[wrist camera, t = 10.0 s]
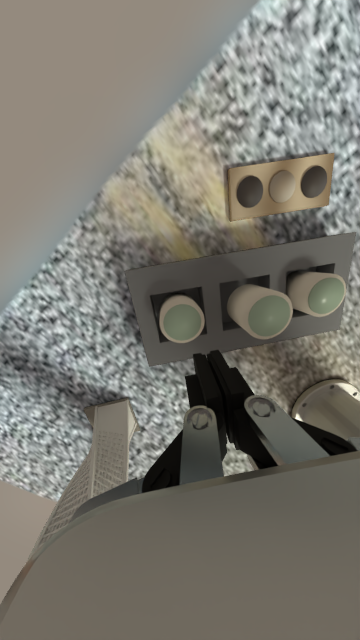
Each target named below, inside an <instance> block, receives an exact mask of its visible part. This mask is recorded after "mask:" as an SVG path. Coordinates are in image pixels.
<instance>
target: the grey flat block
mask: <svg viewBox="0 0 360 640" xmlns="http://www.w3.org/2000/svg"><path fill="white" fill-rule="evenodd" d="M355 236H356V232H353V233H346V234H338V235H331V236H325V237H319V238H313V239H307V240H301V241H295V242H289V243H283V244H277V245H271V246H265V247H260V248H254V249H248V250H242V251H236V252H230V253H224V254H218V255H212V256H206V257H200V258H194V259H188V260H183V261H177V262H171V263H165V264H159V265H153V266H147V267H141V268H135V269H130V270H127V271H125V275H126V279H127V283H128V286H129V290H130V294H131V298H132V302H133V306H134V310H135V314H136V318H137V321H138V325H139V329H140V333H141V337H142V341H143V345H144V349H145V353H146V356H147V360H148V364H149V367H150V366H155V365H160V364H165V363H170V362H176V361H181V360H186V359H191V358H193V354H196V353H201V354H202V355H203V354H205V356H206V355H207V354H209V353H210V351H213V350H219V351H220V353H222V352H227V351H232V350H237V349H242V348H247V347H253V346H258V345H263V344H268V343H273V342H278V341H283V340H288V339H294V338H299V337H304V336H309V335H314V334H319V333H324V332H329V331H335V330H340V324H341V318H342V312H343V306H344V301H345V297H344V299H343V301H342V303H341V304H340V306H339V307H338V308H337V309H336V310H335V311H334V312H332V313H331V314H329V315H326V316H323V317H315V316H312V315H309V314H307V313H304V312H301V311H299V310H296V309H293V314H292V318H291V321H290V323H289V324H288V326H287V327H286V329H285V330H284V331H283V332H281V333H280V334H279V335H277V336H275V337H273V338H270V339H258V338H255V337H253V336H251V335H250V334H249V333H248V332H247V331H245V330H244V329H243V328H242V327H241V326H239V325H238V324H237V323H236V322H235V321H234V320H232V319H231V318H230V316H229V314H228V311H227V302H228V299H229V297H230V295H231V294H232V292H233V291H234V290H236V289H237V288H238V287H240V286H242V285H246V284H253V285H257V286H261V287H264V288H268V289H272V290H275V291H279V292H282V293H284V294H285V291H286V276H288V275H289V274H291V273H293V272H296V271H307V272H319V273H331V274H337V275H339V276H341V277H342V278H343V280H344V281H345V284H346V289H347V283H348V277H349V271H350V265H351V259H352V253H353V247H354V242H355ZM177 292H180V293H185V294H187V295H189V296H190V297H191V298H192V299H193V300H194V301H195V302H196V304H197V305H198V306H199V307H200V309H201V310H202V312H203V314H204V319H205V323H204V327H203V330H202V332H201V333H200V335H199V336H198V337H196V338H195V339H194V340H192V341H190V342H186V343H176V342H173V341H171V340H169V339H167V338H166V337H165V336H164V335H163V333H162V331H161V329H160V306H161V303H162V301H163V300H164V299H165V298H166V297H167V296H168V295H170V294H172V293H177ZM345 295H346V293H345Z"/></svg>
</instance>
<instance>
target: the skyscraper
mask: <svg viewBox="0 0 360 640" xmlns="http://www.w3.org/2000/svg"><path fill="white" fill-rule="evenodd" d="M84 412H85V414H86V416H87V418H88V420H89V422H90V424H91V425H92V427H93V439H92V446H91V449H90V451H89V454H88V455H87V457H86V458H85V460H84V461H83V463H82V464H81V466H80V467H79V469H78V470H77V472H76V473H75V475H74V476H73V478H72V479H71V481H70V483H69V484H68V486H67V487H66V489H65V491H64V492H63V494H62V496H61V497H60V499H59V501H58V503H57V504H56V506H55V508H54V510H53V511H52V513H51V515H50V517H49V519H48V521H47V522H46V524H45V526H44V528H43V530H42V532H41V534H40V536H39V538H38V540H37V542H36V544H35V546H34V548H33V550H32V552H31V554H30V556H29V558H28V560H27V562H28V561H29V559H30V558H31V557H32V555H33V554H34V553H35V552H36V551H37V550H38V549H39V548H40V547H41V546H42V545H43V544H44V543H45V542H46V541H47V540H48V539H49V538H51V537H52V536H53V535H54V534H55V533H57V532H58V531H59V530H60V529H62V528H63V527H65V526H66V525H67V524H69V521H70V519H71V518H72V516H73V514H74V513H75V511H76V510H77V509H78V508H79V507H80V506H81V505H82V504H83V503H84V502H86V501H87V500H89V499H91V498H93V497H95V496H98V495H100V494H102V493H104V492H106V491H108V490H111V489H113V488H115V487H117V486H119V485H121V484H124V483H126V482H128V465H129V442H130V440H131V438H132V435H133V433H134V432H136V431H140V427H139V425H138V422H137V420H136V417H135V414H134V412H133V409H132V407H131V404H130V401H129V399H128V398H124V399H119V400H115V401H111V402H107V403H103V404H98V405H94V406H90V407H86V408H84ZM27 562H26V563H27Z"/></svg>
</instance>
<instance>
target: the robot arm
mask: <svg viewBox="0 0 360 640" xmlns="http://www.w3.org/2000/svg"><path fill="white" fill-rule="evenodd" d="M193 359H194V366H195V372H196V374H195V375H190V376H185V379H186V386H187V392H188V398H189V404H190V409H189V410H188V411H187V412H186V414H185V416H184V423H183V430H182V431H181V432H180V433H179V434H178V436H177V437H176V438H175V439H174V440H173V442H172V443H171V444H170V445H169V446H168V448H167V449H166V450H165V451H164V452H163V454H162V455H161V456H160V457H159V458H158V460H157V461H156V462H155V463H154V464H153V466H152V467H151V468H150V469H149V471H148V472H147V474H146V475H145V477H144V478H141V479H139V480H138V479H137V478H134V479H132V480H130V481H128V482H126V483H124V484H121V485H119V486H117V487H115V488H113V489H111V490H108V491H106V492H104V493H102V494H100V495H98V496H95V497H93V498H91V499H89V500H87V501H86V502H84V503H83V504H82V505H81V506H80V507H79V508H78V509H77V510H76V511H75V513H74V514H73V516H72V518H71V519H70V521H69V524H67V525H66V526H65V527H63V528H62V529H60V530H59V531H58V532H57V533H55V534H54V535H53V536H52V537H51V538H49V539H48V540H47V541H46V542H45V543H44V544H43V545H42V546H41V547H40V548H39V549H38V550H37V551H36V552H35V553H34V554H33V555H32V557H31V558H30V559H29V561H28V562H27V563H26V565H25V566H24V567H23V569H22V570H21V572H20V573H19V575H18V576H17V578H16V579H15V581H14V582H13V584H12V586H11V587H10V589H9V591H8V592H7V594H6V596H5V597H4V599H3V601H2V603H1V604H0V640H360V394H359V392H358V390H357V389H356V387H354V386H353V385H351V384H350V383H349V382H346V381H344V380H340V379H332V380H326V381H323V382H320V383H317V384H315V385H313V386H312V387H310V388H309V389H307V390H306V391H305V392H304V393H303V394H302V395H301V396H300V397H299V398H298V399H297V401H296V403H295V404H294V407H293V409H292V417H290V416H289V415H288V414H287V413H286V412H285V411H284V410H283V409H282V408H281V407H280V406H279V405H278V404H277V403H276V402H275V401H273V400H272V399H270V398H268V397H266V396H262V395H254V393H253V392H252V390H251V389H250V387H249V386H248V384H247V383H246V381H245V380H244V378H243V377H242V375H241V374H240V372H239V371H238V369H237V368H236V367H234V368H229V366H228V365H227V363H226V361H225V360H224V358H223V356H222V355H221V353H220V351H219V350H213V351H210V353H209V354H207V358H206V356H205V354H203V355H202V354H201V353H196V354H193ZM207 359H208V361H207ZM226 433H227V436H228V439H229V442H230V443H234V445H235V448H236V450H241V451H243V452H245V453H246V454H247V457H248V459H249V461H250V463H251V465H252V467H253V468H254V470H255V471H250V472H244V473H239V474H234V475H229V476H224V474H223V467H222V461H223V459H224V457H225V455H226V453H227V448H226V444H227V437H226Z"/></svg>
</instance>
